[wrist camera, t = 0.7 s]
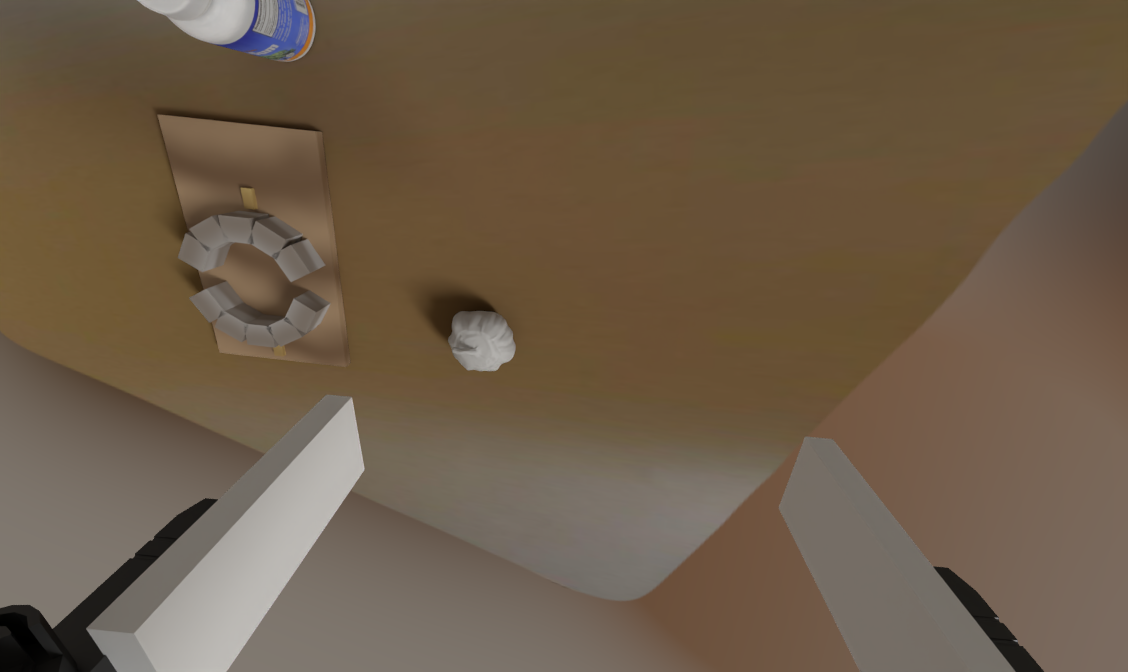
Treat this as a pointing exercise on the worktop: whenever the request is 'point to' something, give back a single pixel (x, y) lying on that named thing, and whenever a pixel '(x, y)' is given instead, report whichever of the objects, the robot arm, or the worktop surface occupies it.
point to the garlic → (481, 340)
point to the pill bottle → (245, 24)
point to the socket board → (278, 194)
